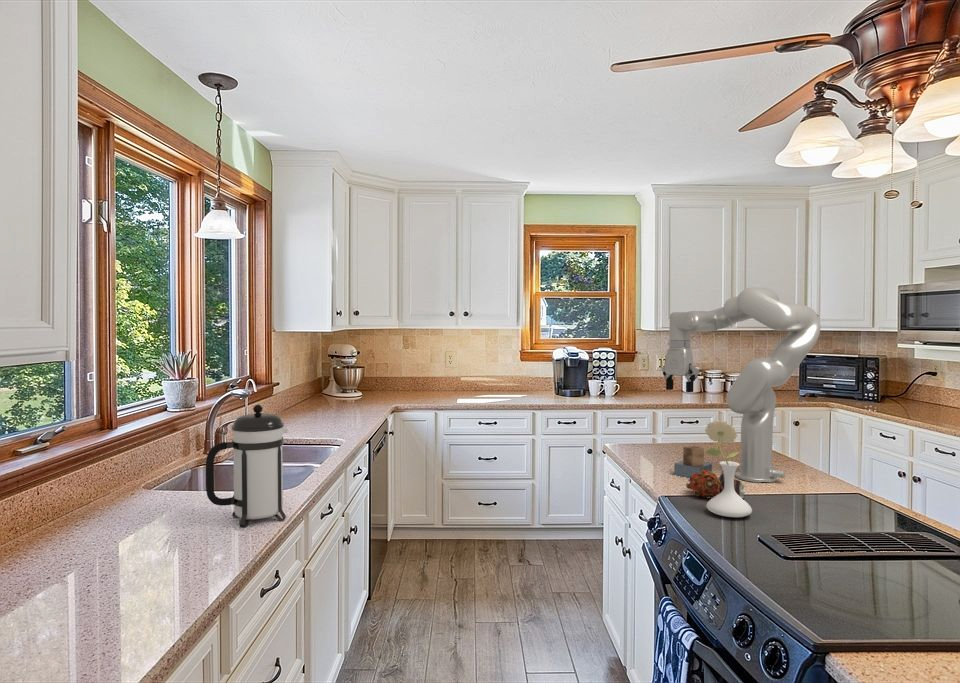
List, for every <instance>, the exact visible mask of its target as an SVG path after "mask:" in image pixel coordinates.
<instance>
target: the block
mask: <svg viewBox="0 0 960 683" xmlns="http://www.w3.org/2000/svg"><path fill="white" fill-rule="evenodd" d="M682 454H683V457H682V461H683V463H686V464H689V465H692V466H695V465H704V462H705V461H704V460H705V458H704V456H705V455H704V454H705V448H704V447H700V446H697V445H687V446H683V451H682Z"/></svg>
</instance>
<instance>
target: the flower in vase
mask: <svg viewBox="0 0 960 683" xmlns="http://www.w3.org/2000/svg"><path fill="white" fill-rule="evenodd" d="M704 431H705V433H706V436H707V437H708V438H709V439H710V440H712V441H713V442H717V443H718V449H717V448H713V447H711V448H709V449H707V450H706V451H705V454H707V455H710V456H713V457H718V456H719V455H721V456H722V458H723V459H724V460H723V461H722V460H721V461H719V462H718V463H719V465H720V466H721V468H722V471H723V473H724V477H725V486H724V489H723V491H722V492H721V493H720V494H718V495H717V496H713V497H712V498H711V499H709V501H707V503H706V505H705V506H706V508H707V510H708V511H710V512H711V513H712V514H715V515H718V516H722V517H726V518H744V517H748V516H749V515H751V514H752V512H753V509H752V507H751V505H750V504H749V503H748V502H747V501H746V500H745V499H744V500H743V499H742V498H741V497H740V496H739V495H738V494H737V493H736V492H735V490H734V479H735V473H736V472H737V469H738V467H739V466H741V463H739V462H735V461H731V460H730V461H728V460H727V459H730V458H733V457H736V456H737V455H738V454H740V451H737V452H731V453H729V454H727V456H726V457H725V456H724V454H723V452H722V450H721V445H722V444H723V445H726V444H730V443H734V442H735V440H736V438H737V437H738V432H737V431H736V428H735V427H733V425H732V424H729V423H728V422H727V421H722V420H719V419H718V420H713V421H712V422H711V421H709V423H707V426H706V427H705V429H704Z"/></svg>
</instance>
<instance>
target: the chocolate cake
mask: <svg viewBox="0 0 960 683" xmlns="http://www.w3.org/2000/svg"><path fill="white" fill-rule="evenodd" d="M718 478H719V480H720V482H721V483H722V488H723V489H724V486H725V477H724V471H723V470H721V474H720V475H719V477H718ZM744 489H745V484H743V482H742V481H741V480H740V479H735V478H734V490H735V492H736V493H737V494H738V495H739V496H740V497H741V498H745V497H744V496H745V492H744ZM722 491H723V490H722ZM722 491H720V493H721V492H722ZM720 493H719V494H720Z"/></svg>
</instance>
